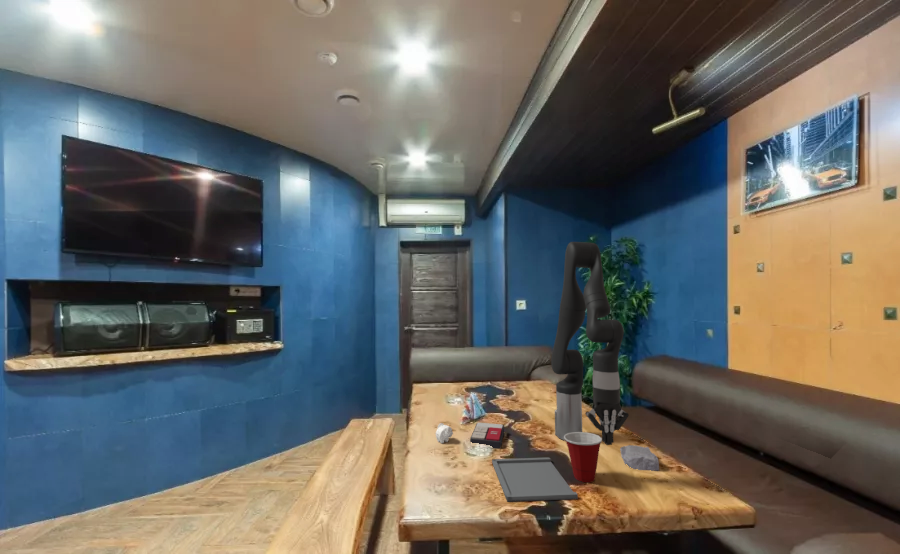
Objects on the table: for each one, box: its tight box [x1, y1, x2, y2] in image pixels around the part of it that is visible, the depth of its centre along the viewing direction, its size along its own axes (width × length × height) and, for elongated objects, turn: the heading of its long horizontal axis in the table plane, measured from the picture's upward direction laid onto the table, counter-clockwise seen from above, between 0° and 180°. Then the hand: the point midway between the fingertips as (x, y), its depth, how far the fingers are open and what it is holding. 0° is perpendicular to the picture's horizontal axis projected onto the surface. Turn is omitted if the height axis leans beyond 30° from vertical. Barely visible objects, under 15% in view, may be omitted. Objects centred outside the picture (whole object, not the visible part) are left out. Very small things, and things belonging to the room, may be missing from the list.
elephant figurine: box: [434, 422, 454, 444], centre depth 133 cm, size 7×8×6 cm
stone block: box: [619, 444, 660, 472], centre depth 116 cm, size 12×5×10 cm
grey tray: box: [491, 457, 579, 503], centre depth 105 cm, size 19×22×1 cm
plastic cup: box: [564, 431, 603, 483], centre depth 106 cm, size 11×11×12 cm
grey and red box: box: [469, 422, 505, 450], centre depth 135 cm, size 11×4×15 cm
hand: (607, 443), depth 107 cm, fingers closed
